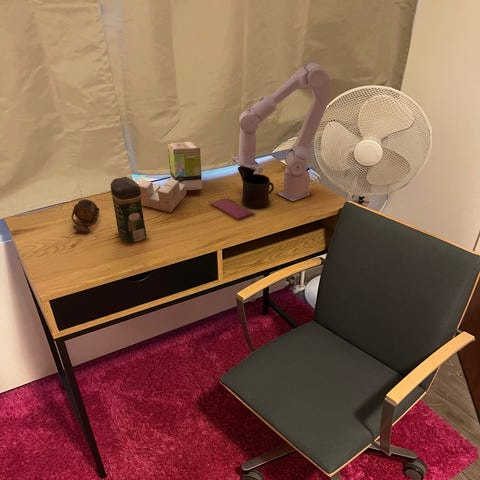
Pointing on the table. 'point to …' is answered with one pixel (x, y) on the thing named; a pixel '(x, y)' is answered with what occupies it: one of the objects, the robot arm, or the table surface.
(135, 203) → the coffee jar
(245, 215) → the cloth
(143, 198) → the puzzle cube
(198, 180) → the tea box
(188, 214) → the table surface
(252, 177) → the mug
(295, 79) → the robot arm
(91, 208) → the dark brown rounded piece
